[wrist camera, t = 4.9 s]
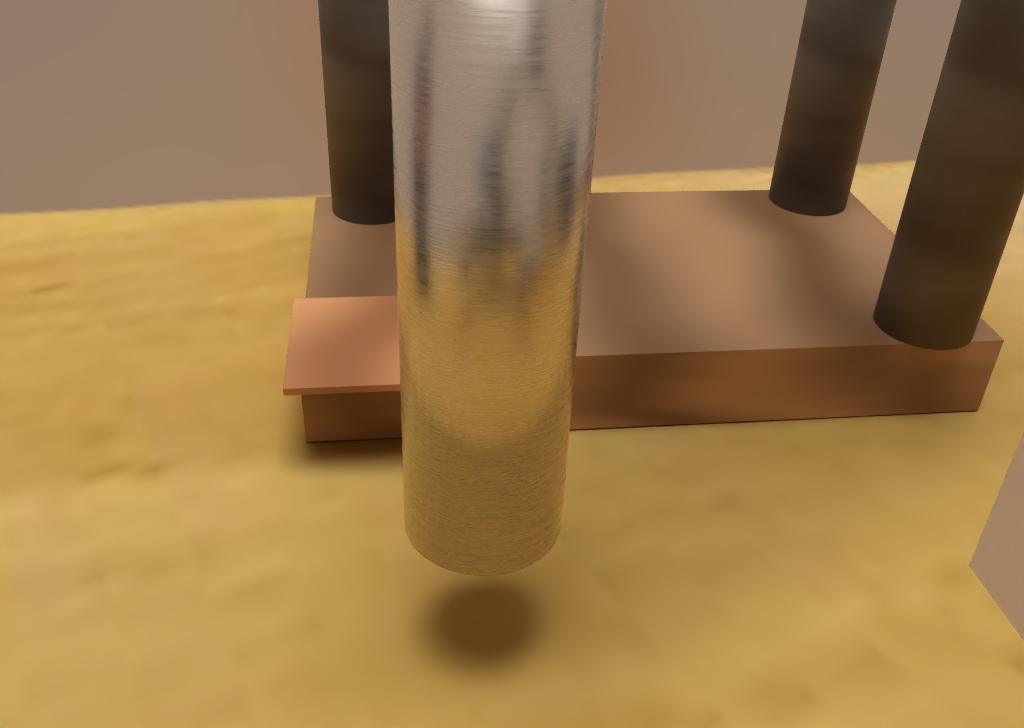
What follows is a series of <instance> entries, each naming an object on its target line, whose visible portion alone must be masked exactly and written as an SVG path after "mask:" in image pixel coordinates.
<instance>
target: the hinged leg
mask: <svg viewBox="0 0 1024 728" xmlns="http://www.w3.org/2000/svg"><path fill="white" fill-rule="evenodd" d="M388 1H389V33H390V66H391V99H392V131H393V164H394V196H395V229H396V262H397V294H398V327H399V360H400V392H401V425H402V457H403V490H404V523H405V530H406V533H407V536H408V538H409V540H410V542H411V543H412V545H413V546H414V547H415V548H416V550H417V551H418V552H419V553H420V554H421V555H423V556H424V557H425V558H427V559H428V560H429V561H431V562H433V563H435V564H436V565H438V566H440V567H443V568H445V569H448V570H451V571H454V572H458V573H463V574H469V575H480V576H483V575H499V574H505V573H510V572H514V571H517V570H520V569H523V568H525V567H527V566H529V565H532V564H533V563H535V562H537V561H538V560H540V559H541V558H542V557H543V556H545V555H546V554H547V553H548V552H549V551H550V550H551V549H552V547H553V546H554V544H555V543H556V541H557V539H558V536H559V534H560V529H561V521H562V509H563V498H564V487H565V475H566V464H567V453H568V441H569V430H570V419H571V407H572V396H573V385H574V373H575V362H576V351H577V339H578V328H579V317H580V305H581V294H582V283H583V271H584V260H585V249H586V237H587V226H588V215H589V203H590V192H591V181H592V168H593V158H594V146H595V134H596V124H597V113H598V100H599V90H600V78H601V67H602V56H603V44H604V32H605V21H606V10H607V0H388Z"/></svg>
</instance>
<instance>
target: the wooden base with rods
mask: <svg viewBox="0 0 1024 728" xmlns="http://www.w3.org/2000/svg"><path fill="white" fill-rule="evenodd" d="M318 5H319V21H320V34H321V49H322V64H323V79H324V93H325V108H326V121H327V137H328V151H329V165H330V180H331V195H332V197H316V204H315V214H314V223H313V233H312V243H311V253H310V262H309V272H308V282H307V292H306V298H299V299H294V304H293V312H292V320H291V328H290V336H289V345H288V353H287V361H286V369H285V377H284V385H283V393H284V395H302V403H303V414H304V424H305V434H306V442H314V441H336V440H357V439H378V438H400V437H402V425H401V392H400V360H399V327H398V294H397V262H396V229H395V196H394V164H393V131H392V99H391V66H390V33H389V1H388V0H318ZM895 5H896V0H807V4H806V9H805V14H804V20H803V24H802V29H801V34H800V39H799V44H798V50H797V55H796V60H795V65H794V70H793V75H792V80H791V85H790V90H789V95H788V100H787V106H786V111H785V116H784V121H783V126H782V131H781V136H780V141H779V146H778V151H777V156H776V161H775V166H774V171H773V177H772V182H771V187H770V190H748V191H684V192H620V193H590V203H589V215H588V226H587V237H586V249H585V260H584V271H583V283H582V294H581V305H580V317H579V328H578V339H577V351H576V362H575V373H574V385H573V396H572V407H571V419H570V429H592V428H613V427H634V426H656V425H677V424H698V423H720V422H741V421H762V420H784V419H805V418H826V417H848V416H869V415H890V414H912V413H933V412H954V411H976V410H978V408H979V406H980V403H981V400H982V398H983V395H984V392H985V390H986V387H987V384H988V382H989V379H990V376H991V374H992V371H993V368H994V365H995V363H996V360H997V357H998V355H999V352H1000V349H1001V347H1002V344H1003V341H1004V340H1003V339H1002V338H1001V337H1000V336H999V335H998V334H997V333H996V332H995V331H994V330H993V329H992V328H990V327H989V326H988V325H987V324H986V323H985V322H984V321H983V320H982V319H981V318H980V316H981V313H982V310H983V307H984V305H985V302H986V299H987V296H988V293H989V290H990V288H991V285H992V282H993V279H994V276H995V273H996V270H997V268H998V265H999V262H1000V259H1001V256H1002V253H1003V250H1004V248H1005V245H1006V242H1007V239H1008V236H1009V233H1010V231H1011V228H1012V225H1013V222H1014V219H1015V216H1016V213H1017V211H1018V208H1019V205H1020V202H1021V199H1022V196H1023V194H1024V0H961V3H960V7H959V10H958V14H957V18H956V21H955V25H954V28H953V32H952V36H951V39H950V43H949V46H948V50H947V54H946V57H945V61H944V64H943V68H942V71H941V75H940V79H939V82H938V86H937V89H936V93H935V96H934V100H933V103H932V107H931V110H930V114H929V117H928V121H927V125H926V128H925V132H924V135H923V139H922V143H921V146H920V150H919V153H918V157H917V160H916V164H915V167H914V171H913V174H912V178H911V182H910V185H909V189H908V192H907V196H906V199H905V203H904V207H903V210H902V214H901V217H900V221H899V224H898V228H897V232H896V235H894V234H893V233H892V232H891V231H890V230H889V229H888V228H887V227H886V226H885V225H884V224H883V223H882V222H881V221H880V220H879V219H878V218H877V217H876V216H874V215H873V214H872V213H871V212H870V211H869V210H868V209H867V208H866V207H865V206H864V205H863V204H862V203H861V202H860V201H859V200H858V199H857V198H856V197H855V196H854V195H853V194H852V193H851V192H850V188H851V184H852V180H853V176H854V172H855V168H856V164H857V160H858V155H859V151H860V148H861V143H862V139H863V135H864V131H865V127H866V123H867V119H868V115H869V111H870V107H871V102H872V98H873V95H874V90H875V86H876V82H877V78H878V74H879V70H880V66H881V62H882V58H883V54H884V50H885V45H886V41H887V37H888V33H889V29H890V25H891V20H892V17H893V13H894V9H895Z"/></svg>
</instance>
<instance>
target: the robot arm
mask: <svg viewBox="0 0 1024 728" xmlns="http://www.w3.org/2000/svg"><path fill="white" fill-rule="evenodd" d="M969 566H970V567H971V569H972V570H973V571H974V573H975V574H976V576H977V577H978V578H979V580H980V581H981V582H982V584H983V585H984V587H985V588H986V589H987V591H988V592H989V593H990V595H991V596H992V598H993V599H994V600H995V602H996V603H997V604H998V606H999V607H1000V609H1001V610H1002V611H1003V613H1004V614H1005V615H1006V617H1007V618H1008V620H1009V621H1010V622H1011V624H1012V625H1013V626H1014V628H1015V629H1016V631H1017V632H1018V633H1019V635H1020V636H1021V637H1022V639H1023V640H1024V432H1023V435H1022V437H1021V440H1020V442H1019V445H1018V447H1017V449H1016V452H1015V454H1014V457H1013V459H1012V462H1011V464H1010V467H1009V469H1008V471H1007V474H1006V476H1005V479H1004V481H1003V484H1002V486H1001V489H1000V491H999V493H998V496H997V498H996V501H995V503H994V506H993V508H992V510H991V513H990V515H989V518H988V520H987V523H986V525H985V528H984V530H983V532H982V535H981V537H980V540H979V542H978V545H977V547H976V549H975V552H974V554H973V557H972V559H971V562H970V564H969Z"/></svg>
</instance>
